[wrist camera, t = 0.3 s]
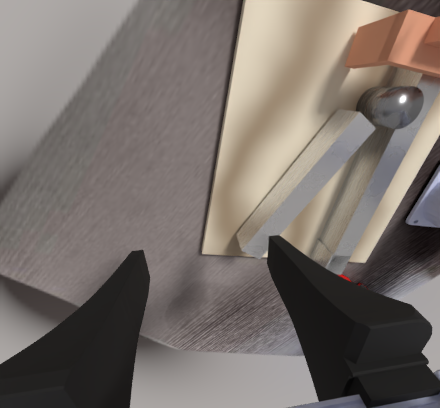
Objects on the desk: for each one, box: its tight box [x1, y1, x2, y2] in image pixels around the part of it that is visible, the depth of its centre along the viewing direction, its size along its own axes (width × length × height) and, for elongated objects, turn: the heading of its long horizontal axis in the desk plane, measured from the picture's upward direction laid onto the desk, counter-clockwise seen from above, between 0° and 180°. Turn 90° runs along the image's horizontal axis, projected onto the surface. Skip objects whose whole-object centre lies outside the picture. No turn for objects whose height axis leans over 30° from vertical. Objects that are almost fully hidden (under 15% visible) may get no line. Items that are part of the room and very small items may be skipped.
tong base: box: [310, 66, 440, 275], centre depth 20 cm, size 4×21×3 cm, turn 170°
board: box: [202, 0, 440, 263], centre depth 21 cm, size 20×22×1 cm
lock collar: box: [345, 10, 440, 78], centre depth 15 cm, size 8×2×5 cm, turn 80°
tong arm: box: [236, 109, 376, 260], centre depth 20 cm, size 2×14×3 cm, turn 145°
